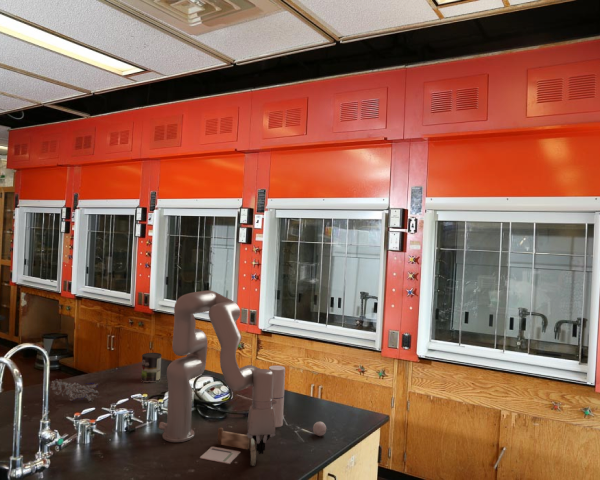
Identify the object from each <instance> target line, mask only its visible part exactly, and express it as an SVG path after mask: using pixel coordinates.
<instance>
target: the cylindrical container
mask: <svg viewBox="0 0 600 480" xmlns="http://www.w3.org/2000/svg"><path fill="white" fill-rule="evenodd" d="M268 370H271V371H272V372H273V398H272V399H274V400H276V403H274V404H273V406H274V411H275V428H280V427H282V426H283V425H284V406H285V405H284V403H285V386H286V385H285V383H286V382H285V381H286V379H285V378H286V367H285V366H284V365H283V366H282V365H271V366H269V367H268Z"/></svg>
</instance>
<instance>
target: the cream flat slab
mask: <svg viewBox="0 0 600 480" xmlns="http://www.w3.org/2000/svg"><path fill="white" fill-rule="evenodd" d="M255 442H256V441H255ZM255 442H254V439H253V438H251V448H250V450H249V452H250V466H251V467H255V466H256V463H257V450H256V444H255Z"/></svg>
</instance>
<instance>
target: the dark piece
mask: <svg viewBox="0 0 600 480" xmlns="http://www.w3.org/2000/svg"><path fill="white" fill-rule="evenodd" d="M62 381H63V380H62V379H60V378H59V379H58V378H55V380H52V381H51V384H50V385H51V386H50V388H52V389H51V390H52V391H53V393H54V395H57V396H58V395H59V396H60V394H61V396H64V395H65V396H66V395H67V396H68V399H69V401H71V402H72V401H74V402H75V401H76V400H77V399H78V400H83V399H87V400H88V402H89V401H92V402H93V400H94V398H95V399H97V398H101V395H100V396H98V395H99V391H98V390H95V389H94V388H98V386H99V383H96V384H95V382H88V383H85V385H81V384H79V383H76V382H73V383H69V382H66V381H63V382H62ZM86 384H87V385H86ZM63 386H64V390H63V392H62V388H63ZM56 390H58V391H59V392H58V391H56ZM89 393H91V394H89ZM96 394H97V395H96ZM80 398H81V399H80Z"/></svg>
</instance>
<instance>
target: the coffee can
mask: <svg viewBox="0 0 600 480" xmlns="http://www.w3.org/2000/svg"><path fill="white" fill-rule="evenodd" d="M162 356H163V355H162V354H161V353H159V352H146V353H143V354H141V372H140V373H141V375H140V376H141V377H140V381H141V380H142V381H156V380H159V379H160V380H161V372H162V371H161V366H162ZM142 381H141V382H142Z"/></svg>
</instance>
